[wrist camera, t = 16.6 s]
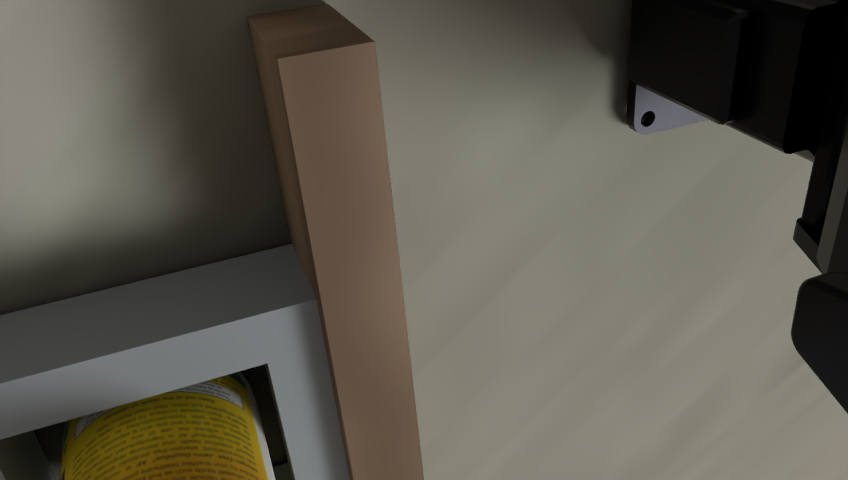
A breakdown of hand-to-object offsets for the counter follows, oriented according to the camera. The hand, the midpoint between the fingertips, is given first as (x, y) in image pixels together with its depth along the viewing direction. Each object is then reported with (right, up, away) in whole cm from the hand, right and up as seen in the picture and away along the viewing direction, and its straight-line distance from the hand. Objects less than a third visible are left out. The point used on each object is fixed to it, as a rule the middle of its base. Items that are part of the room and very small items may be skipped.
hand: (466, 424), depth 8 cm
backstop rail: (-3, -2, +15) cm, 16 cm away
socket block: (-8, -3, +14) cm, 16 cm away
